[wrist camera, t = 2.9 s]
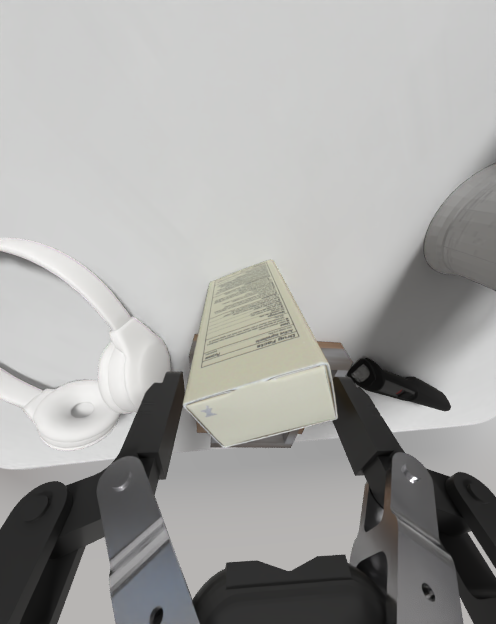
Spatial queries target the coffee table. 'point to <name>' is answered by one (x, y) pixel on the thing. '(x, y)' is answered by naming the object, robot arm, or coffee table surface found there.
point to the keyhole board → (338, 368)
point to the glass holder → (466, 231)
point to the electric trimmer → (396, 385)
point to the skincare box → (256, 361)
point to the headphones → (111, 368)
